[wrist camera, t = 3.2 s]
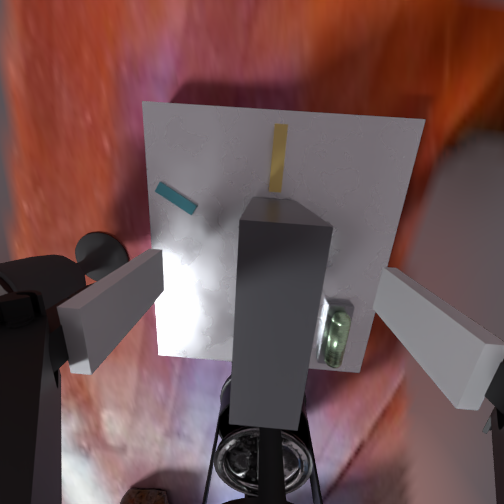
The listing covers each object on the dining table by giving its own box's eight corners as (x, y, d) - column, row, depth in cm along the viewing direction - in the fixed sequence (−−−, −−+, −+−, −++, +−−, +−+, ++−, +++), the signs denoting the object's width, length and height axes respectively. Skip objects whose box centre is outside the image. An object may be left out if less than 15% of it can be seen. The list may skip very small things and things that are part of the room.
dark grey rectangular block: (281, 315, 19) (297, 430, 10) (244, 311, 19) (228, 424, 10) (304, 127, 15) (363, 55, 6) (256, 124, 15) (248, 49, 6)
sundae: (123, 216, 20) (-201, 303, 6) (146, 285, 22) (-59, 472, 8) (55, 228, 21) (-380, 333, 7) (83, 294, 23) (-209, 484, 9)
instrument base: (347, 349, 24) (368, 390, 19) (171, 333, 24) (149, 370, 19) (399, 128, 17) (447, 111, 13) (161, 113, 18) (126, 91, 13)
